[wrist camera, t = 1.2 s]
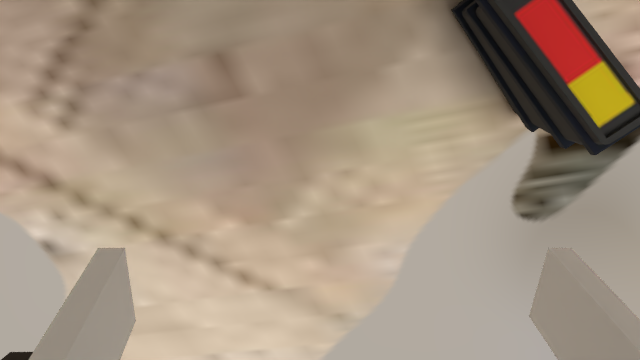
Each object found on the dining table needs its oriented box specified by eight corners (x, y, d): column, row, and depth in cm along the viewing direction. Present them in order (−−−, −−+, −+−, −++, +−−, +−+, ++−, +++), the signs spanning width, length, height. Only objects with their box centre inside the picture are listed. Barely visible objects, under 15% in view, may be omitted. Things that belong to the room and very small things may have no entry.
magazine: (538, 151, 41) (603, 156, 26) (444, 26, 42) (458, -37, 27) (578, 124, 40) (668, 114, 26) (482, -2, 41) (517, -84, 26)
